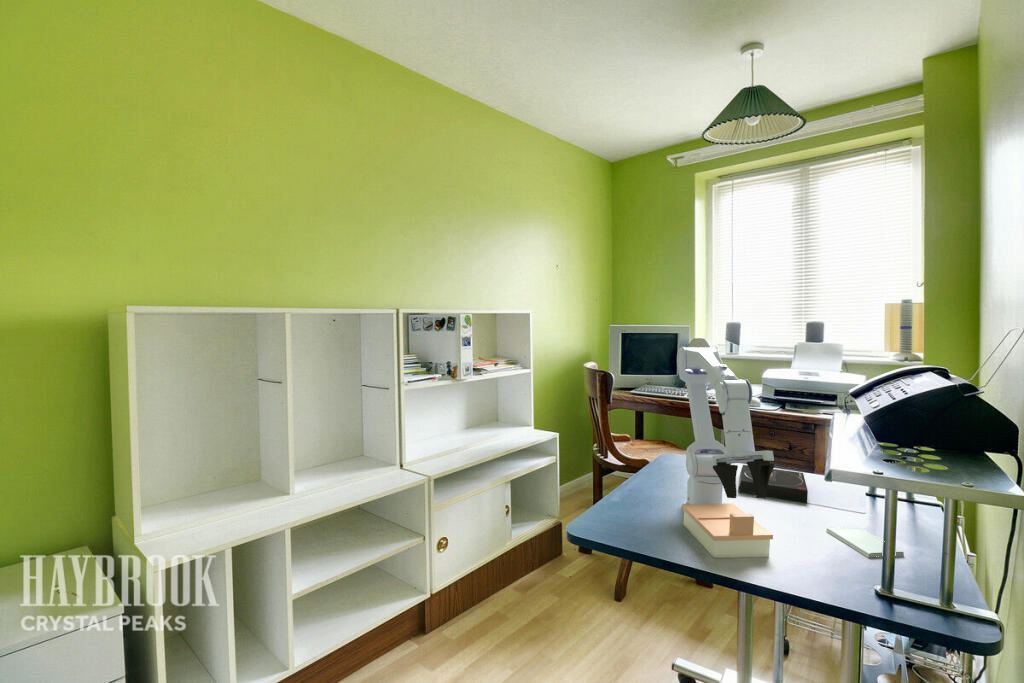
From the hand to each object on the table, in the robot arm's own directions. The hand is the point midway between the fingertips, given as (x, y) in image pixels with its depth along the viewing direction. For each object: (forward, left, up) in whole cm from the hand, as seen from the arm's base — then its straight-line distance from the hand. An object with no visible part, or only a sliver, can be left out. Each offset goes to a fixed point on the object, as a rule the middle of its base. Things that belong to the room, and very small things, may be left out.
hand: (746, 498), depth 104 cm
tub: (-8, -1, -13) cm, 15 cm away
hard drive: (-5, +30, -14) cm, 33 cm away
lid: (-8, -1, -9) cm, 12 cm away
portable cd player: (-39, +29, -13) cm, 50 cm away
